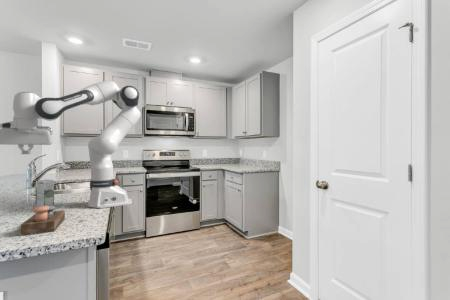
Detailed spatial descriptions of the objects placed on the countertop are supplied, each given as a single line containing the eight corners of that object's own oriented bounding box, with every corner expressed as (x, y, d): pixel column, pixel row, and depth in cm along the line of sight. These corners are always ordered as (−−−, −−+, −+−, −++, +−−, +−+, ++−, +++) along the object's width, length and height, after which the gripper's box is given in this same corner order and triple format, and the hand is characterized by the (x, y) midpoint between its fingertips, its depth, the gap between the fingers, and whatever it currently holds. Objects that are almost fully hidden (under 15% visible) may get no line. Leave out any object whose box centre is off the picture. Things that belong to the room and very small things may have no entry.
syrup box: (45, 205, 122) (45, 179, 122) (54, 205, 121) (54, 179, 120) (35, 208, 116) (34, 180, 116) (44, 208, 115) (43, 181, 115)
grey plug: (56, 219, 96) (56, 205, 96) (53, 222, 91) (53, 207, 91) (43, 220, 94) (43, 206, 94) (39, 224, 89) (38, 209, 89)
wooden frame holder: (64, 219, 98) (64, 210, 98) (54, 231, 84) (54, 221, 84) (36, 222, 94) (36, 212, 94) (20, 235, 80) (20, 224, 80)
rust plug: (51, 220, 88) (51, 205, 88) (47, 224, 84) (47, 208, 84) (36, 222, 86) (36, 206, 86) (31, 226, 82) (31, 209, 82)
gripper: (54, 127, 113) (54, 153, 113) (1, 125, 104) (1, 154, 104) (50, 126, 107) (50, 154, 107) (-6, 124, 98) (-6, 154, 98)
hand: (25, 154), depth 106 cm, fingers closed
